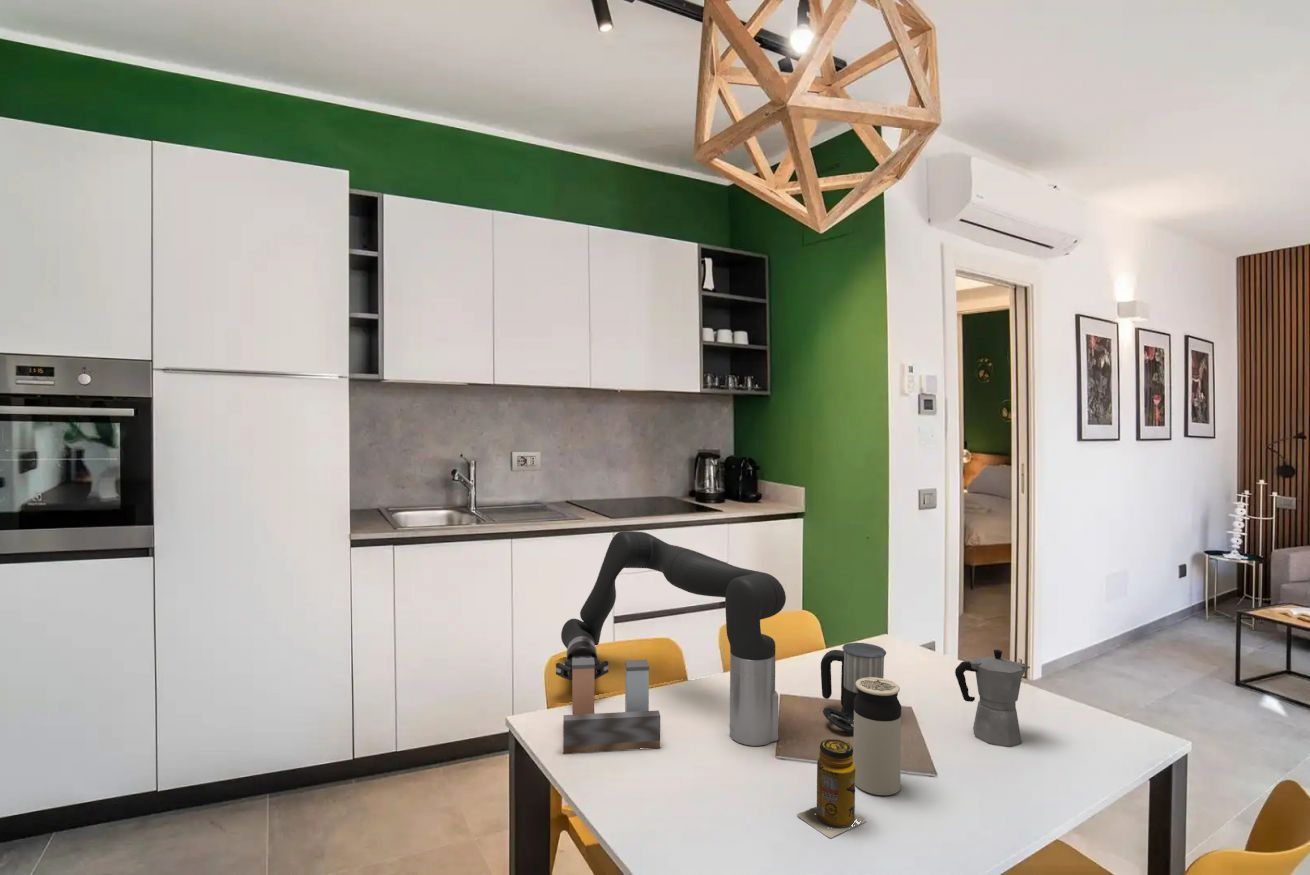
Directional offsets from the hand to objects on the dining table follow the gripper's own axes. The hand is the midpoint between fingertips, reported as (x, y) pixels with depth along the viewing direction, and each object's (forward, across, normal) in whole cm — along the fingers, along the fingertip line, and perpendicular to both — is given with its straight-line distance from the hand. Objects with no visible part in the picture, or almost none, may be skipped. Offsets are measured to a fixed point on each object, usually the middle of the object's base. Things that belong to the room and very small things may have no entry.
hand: (582, 681), depth 150 cm
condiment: (+45, +40, +8) cm, 61 cm away
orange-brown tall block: (+9, 0, +5) cm, 10 cm away
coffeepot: (+21, +83, +7) cm, 86 cm away
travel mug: (+36, +51, +7) cm, 63 cm away
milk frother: (+11, +58, +7) cm, 60 cm away
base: (+11, +5, +7) cm, 14 cm away
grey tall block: (+11, +11, +5) cm, 17 cm away
